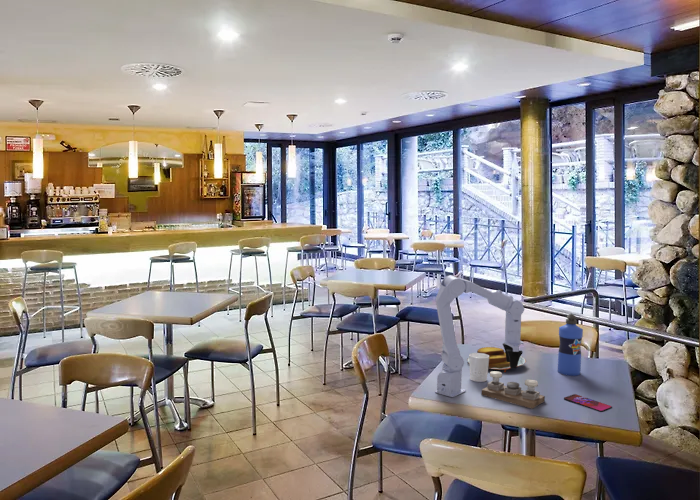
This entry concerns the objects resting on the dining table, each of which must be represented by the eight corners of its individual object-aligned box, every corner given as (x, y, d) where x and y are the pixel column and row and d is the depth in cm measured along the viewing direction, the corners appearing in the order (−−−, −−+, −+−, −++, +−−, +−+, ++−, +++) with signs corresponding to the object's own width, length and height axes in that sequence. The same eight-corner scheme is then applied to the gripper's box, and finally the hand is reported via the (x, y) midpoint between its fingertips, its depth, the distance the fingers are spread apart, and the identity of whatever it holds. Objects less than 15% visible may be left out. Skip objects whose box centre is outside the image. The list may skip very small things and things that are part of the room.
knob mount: (532, 408, 196) (533, 393, 195) (481, 394, 209) (482, 380, 209) (544, 401, 203) (545, 386, 202) (494, 388, 216) (495, 374, 216)
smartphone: (601, 411, 193) (562, 397, 205) (601, 413, 193) (562, 400, 205) (613, 406, 197) (574, 393, 210) (613, 408, 198) (574, 395, 210)
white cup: (466, 380, 225) (466, 356, 224) (471, 375, 232) (472, 351, 231) (485, 383, 222) (486, 359, 221) (490, 378, 228) (491, 354, 228)
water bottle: (585, 374, 234) (588, 315, 232) (568, 377, 231) (571, 317, 228) (569, 368, 243) (572, 311, 240) (552, 370, 239) (554, 313, 237)
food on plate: (517, 377, 231) (518, 362, 230) (459, 368, 243) (459, 353, 242) (530, 361, 253) (531, 347, 252) (476, 353, 265) (477, 340, 264)
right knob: (534, 393, 198) (534, 384, 197) (522, 390, 201) (522, 381, 200) (539, 390, 201) (540, 381, 201) (528, 387, 204) (528, 378, 204)
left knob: (498, 384, 207) (498, 375, 207) (487, 381, 210) (487, 373, 210) (503, 381, 210) (504, 373, 210) (493, 378, 213) (493, 370, 213)
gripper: (527, 335, 205) (526, 371, 206) (519, 326, 220) (518, 359, 221) (508, 334, 206) (506, 370, 207) (501, 325, 220) (500, 359, 222)
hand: (511, 365), depth 214 cm, fingers open, 7 cm apart
